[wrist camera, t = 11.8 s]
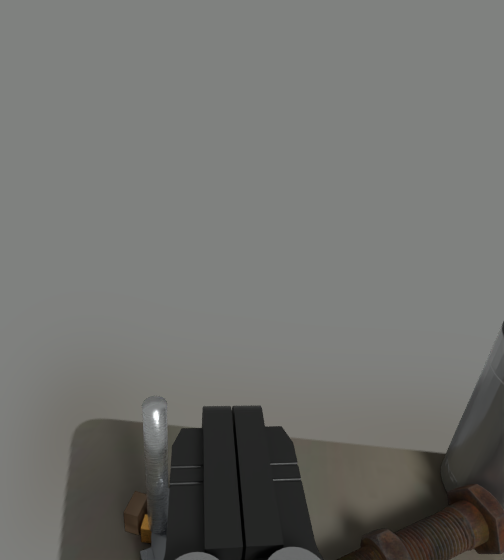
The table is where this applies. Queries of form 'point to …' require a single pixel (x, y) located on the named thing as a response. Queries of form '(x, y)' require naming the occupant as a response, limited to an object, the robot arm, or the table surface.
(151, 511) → the sprocket
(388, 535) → the bolt
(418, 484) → the table surface
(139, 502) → the brown block
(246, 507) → the robot arm
